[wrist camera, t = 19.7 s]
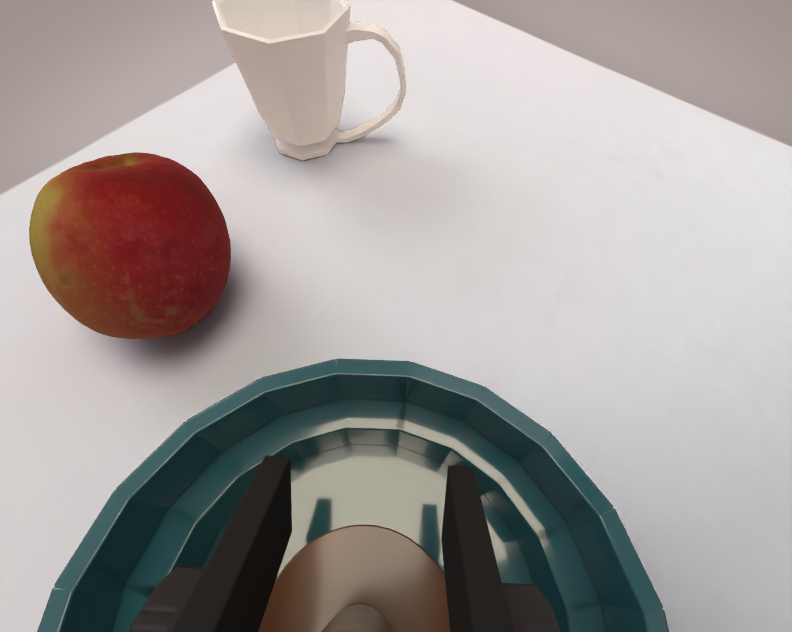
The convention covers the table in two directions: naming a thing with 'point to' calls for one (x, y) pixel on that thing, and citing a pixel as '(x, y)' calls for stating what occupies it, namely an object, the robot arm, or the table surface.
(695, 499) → the table surface
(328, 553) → the coffee tamper
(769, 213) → the table surface
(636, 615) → the bowl
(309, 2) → the cup
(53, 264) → the apple
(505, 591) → the robot arm
